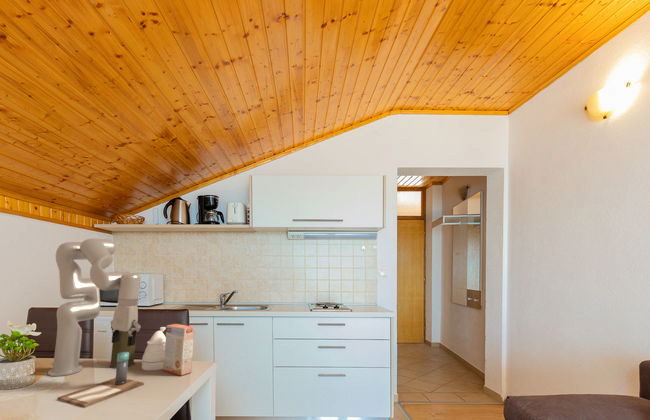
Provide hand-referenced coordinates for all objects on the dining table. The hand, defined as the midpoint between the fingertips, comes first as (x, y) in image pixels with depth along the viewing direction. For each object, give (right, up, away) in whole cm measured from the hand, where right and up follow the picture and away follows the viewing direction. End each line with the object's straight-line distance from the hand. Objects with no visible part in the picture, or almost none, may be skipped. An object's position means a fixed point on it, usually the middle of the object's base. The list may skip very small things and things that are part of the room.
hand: (123, 343), depth 144 cm
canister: (-14, -20, +24) cm, 34 cm away
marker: (0, -16, -2) cm, 16 cm away
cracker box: (+17, -19, +15) cm, 29 cm away
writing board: (-2, -15, -9) cm, 18 cm away
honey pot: (+3, -20, +23) cm, 31 cm away
